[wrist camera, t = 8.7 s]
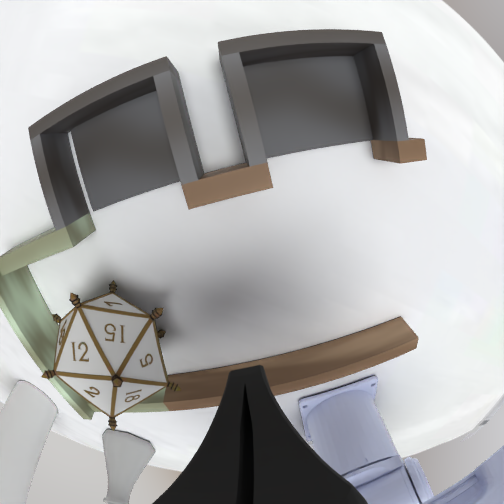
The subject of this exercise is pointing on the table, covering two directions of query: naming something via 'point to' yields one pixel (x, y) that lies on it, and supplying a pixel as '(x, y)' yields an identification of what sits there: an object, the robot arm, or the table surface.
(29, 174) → the table surface
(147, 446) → the flask
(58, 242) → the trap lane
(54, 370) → the game die
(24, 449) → the spray bottle
